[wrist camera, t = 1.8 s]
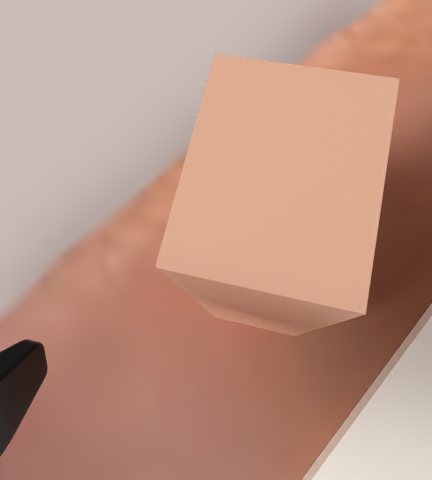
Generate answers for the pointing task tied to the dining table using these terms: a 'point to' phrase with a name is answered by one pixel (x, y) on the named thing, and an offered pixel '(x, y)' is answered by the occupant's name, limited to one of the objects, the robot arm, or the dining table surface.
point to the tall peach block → (281, 194)
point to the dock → (388, 420)
